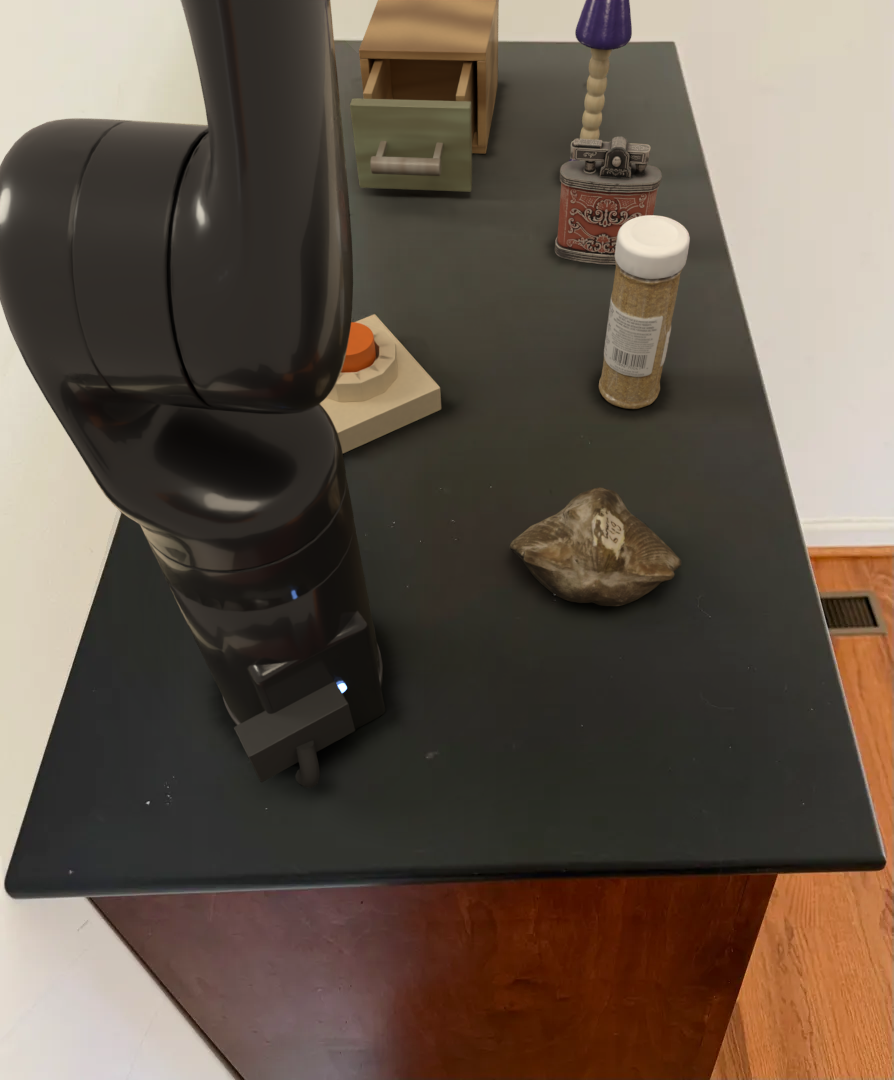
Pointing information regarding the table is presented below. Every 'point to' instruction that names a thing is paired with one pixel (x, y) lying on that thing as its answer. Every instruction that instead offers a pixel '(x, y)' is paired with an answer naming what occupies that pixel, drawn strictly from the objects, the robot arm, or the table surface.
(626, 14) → the toy lamp
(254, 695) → the robot arm
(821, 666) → the table surface
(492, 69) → the cabinet
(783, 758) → the table surface
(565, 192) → the lighter
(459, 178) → the drawer
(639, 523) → the fossilized seashell
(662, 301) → the spice jar
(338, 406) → the button block
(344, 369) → the button
